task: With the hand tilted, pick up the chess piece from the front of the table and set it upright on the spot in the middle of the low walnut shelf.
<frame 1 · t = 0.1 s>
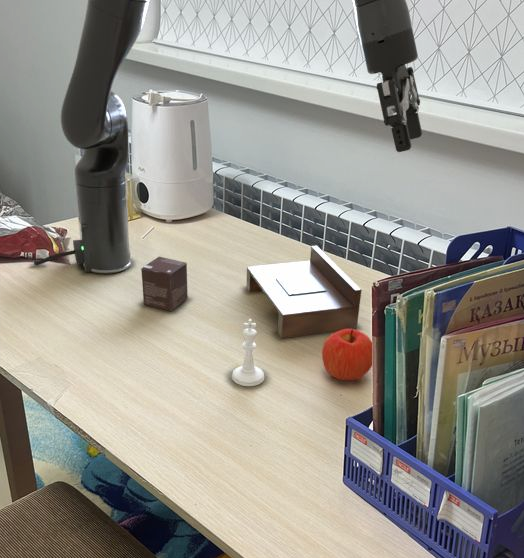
hand: (410, 144, 106), 31 cm above the table, tool tilted 20°, fingers open, 8 cm apart
box: (165, 302, 126), on the table
apple: (345, 375, 108), on the table
shelf: (298, 307, 127), on the table
chess piece: (248, 378, 106), on the table
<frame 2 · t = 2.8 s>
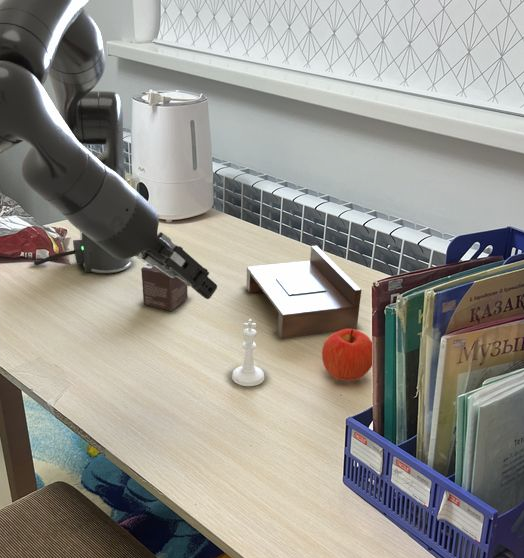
hand: (191, 281, 90), 19 cm above the table, tool tilted 45°, fingers open, 8 cm apart
nothing on the table moved.
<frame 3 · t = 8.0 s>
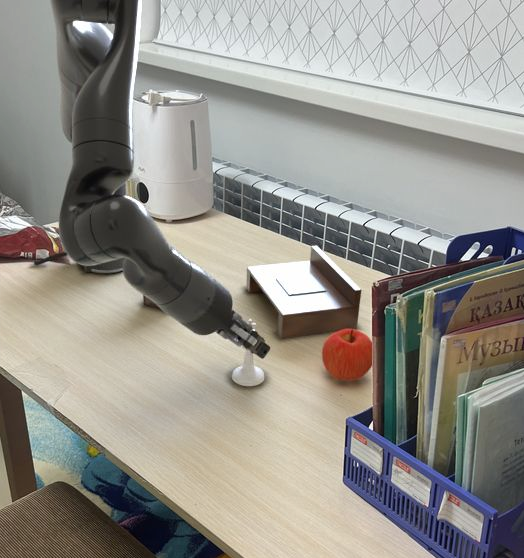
hand: (259, 348, 105), 4 cm above the table, tool tilted 45°, fingers closed on chess piece
chess piece: (248, 378, 106), on the table, touching gripper
everything else where it was.
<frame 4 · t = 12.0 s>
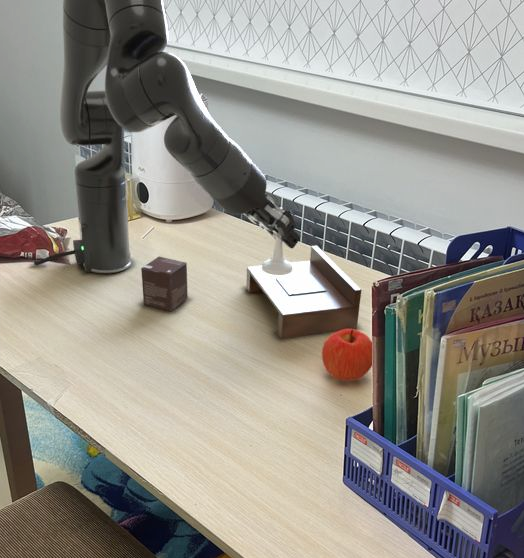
hand: (289, 240, 108), 17 cm above the table, tool tilted 45°, fingers closed on chess piece
chess piece: (277, 270, 109), point 13 cm above the table, touching gripper
everything else where it was.
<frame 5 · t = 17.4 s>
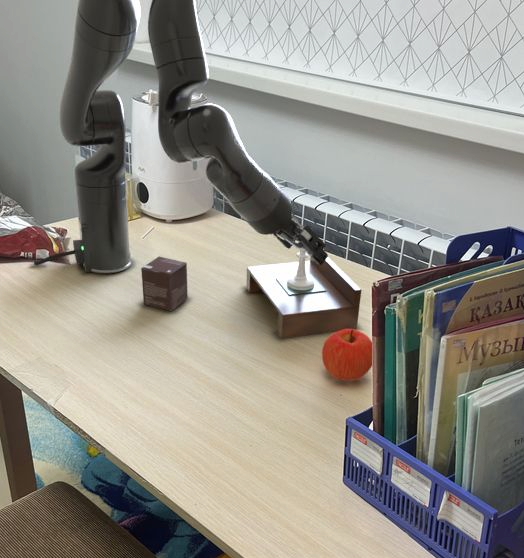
hand: (307, 251, 122), 11 cm above the table, tool tilted 45°, fingers open, 8 cm apart
chess piece: (300, 285, 124), point 5 cm above the table, touching shelf
everything else where it was.
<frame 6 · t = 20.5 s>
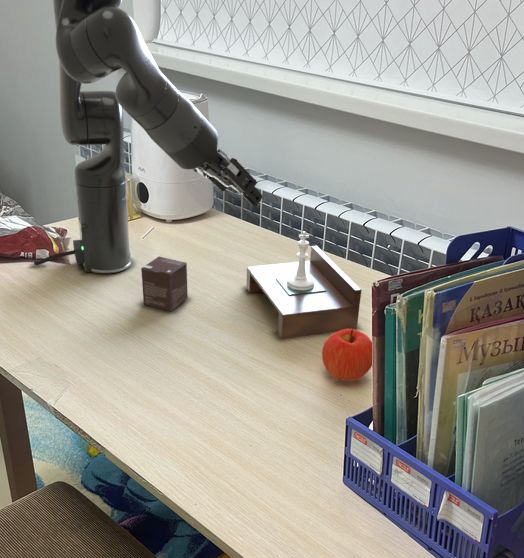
hand: (241, 193, 111), 22 cm above the table, tool tilted 45°, fingers open, 8 cm apart
nothing on the table moved.
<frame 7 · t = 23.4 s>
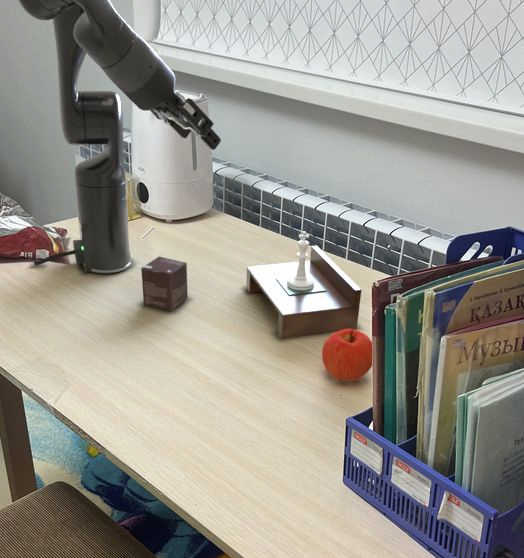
hand: (201, 139, 115), 29 cm above the table, tool tilted 45°, fingers open, 8 cm apart
nothing on the table moved.
at the end: chess piece inside the target area on the shelf (0.1 cm from its centre), point 4.5 cm above the shelf's base; chess piece tilted 0°; the gripper is holding nothing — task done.
